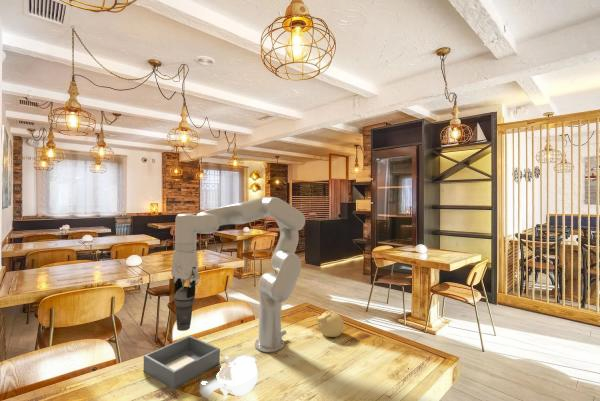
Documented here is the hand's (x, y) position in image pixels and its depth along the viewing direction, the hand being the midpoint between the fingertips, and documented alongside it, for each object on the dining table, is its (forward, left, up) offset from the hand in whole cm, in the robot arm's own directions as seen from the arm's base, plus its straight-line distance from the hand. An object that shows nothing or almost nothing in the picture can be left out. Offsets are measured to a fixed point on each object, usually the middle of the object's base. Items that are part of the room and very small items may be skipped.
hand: (184, 294), depth 119 cm
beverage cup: (0, 0, -13) cm, 13 cm away
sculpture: (-59, +31, -28) cm, 72 cm away
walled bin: (0, 0, -28) cm, 28 cm away
